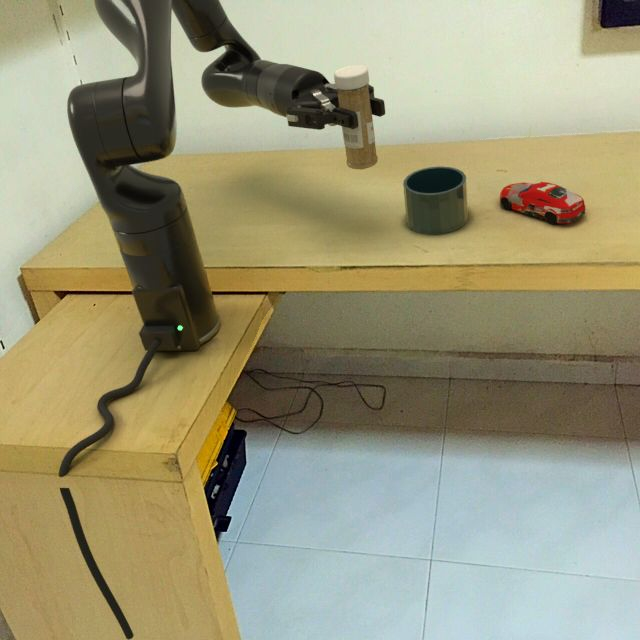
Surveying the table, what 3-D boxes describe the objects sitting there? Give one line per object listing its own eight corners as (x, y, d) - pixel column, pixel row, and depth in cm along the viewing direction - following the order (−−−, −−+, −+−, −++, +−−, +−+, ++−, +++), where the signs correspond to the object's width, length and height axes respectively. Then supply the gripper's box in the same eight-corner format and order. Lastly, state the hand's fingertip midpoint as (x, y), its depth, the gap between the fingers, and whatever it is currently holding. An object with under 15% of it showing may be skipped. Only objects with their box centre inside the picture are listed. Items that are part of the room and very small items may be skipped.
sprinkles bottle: (384, 162, 106) (374, 67, 98) (358, 173, 104) (346, 78, 96) (365, 153, 109) (354, 61, 101) (339, 164, 107) (326, 71, 99)
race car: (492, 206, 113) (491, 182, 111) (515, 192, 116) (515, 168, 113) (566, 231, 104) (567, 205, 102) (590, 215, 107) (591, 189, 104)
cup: (467, 232, 108) (465, 192, 104) (405, 236, 110) (401, 196, 106) (467, 203, 115) (466, 164, 111) (409, 206, 117) (405, 168, 113)
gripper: (249, 83, 106) (325, 105, 95) (325, 52, 113) (405, 70, 101) (259, 133, 111) (333, 160, 99) (332, 100, 117) (410, 123, 105)
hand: (369, 114), depth 100 cm, fingers closed on sprinkles bottle, 4 cm apart
